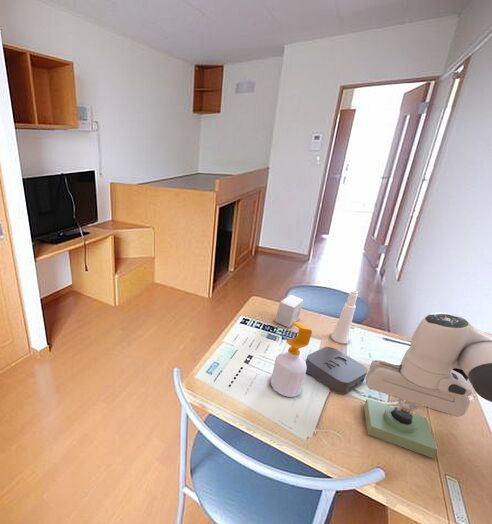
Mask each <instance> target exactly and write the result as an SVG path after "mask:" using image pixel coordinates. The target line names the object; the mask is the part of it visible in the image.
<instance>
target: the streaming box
mask: <svg viewBox="0 0 492 524" xmlns="http://www.w3.org/2000/svg"><path fill="white" fill-rule="evenodd" d="M305 363H306V366H307V369H306V373H307V374H309V375H310V376H311V377H313V379H316V380H317V381H319V382H320V383H322V384H323V385H324V386H325V387H327V388H328V389H330V390H331V391H333V392H334V393H336V394H339V395H346V394H348V393H350V392H352V391H353V390H355V389H357V388H358V387H360V386H361V385H363V384H364V382H365V379H366V376H367V374H368V368H367V367H366V366H365V365H363V364H362V363H360V362H359V361H357V360H355V359H354V358H352V357H350V356H349V355H346V354H345V353H343V352H341V351H340V350H338V349H337V348H334V347H331V346H324V347H322V348H320V349H318V350H316V351H314V352H311V353H309V354H308V355H307V356H306V361H305Z"/></svg>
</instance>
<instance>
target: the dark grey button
mask: <svg viewBox="0 0 492 524" xmlns="http://www.w3.org/2000/svg"><path fill="white" fill-rule="evenodd" d="M394 407H395V408H394V410H393V413H392V416H393V417H394V419H396V420H397V421H399V422H400V423H403V424H410V422H411V420H412V418H413V416H412V414H408V413H405V412H402V411H399V410H398V409H397V406H394Z"/></svg>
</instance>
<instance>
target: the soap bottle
mask: <svg viewBox="0 0 492 524" xmlns="http://www.w3.org/2000/svg"><path fill="white" fill-rule="evenodd" d="M292 323H293V324H292V325H294V326H296V327H297V328H298V331H297V332H298V333H297V335H296V337H293V338H288V339H286V341H285V342H286V344H287V345H289V347H288V349H287V351H285V352H281V353H279V354H278V355H277V356H276V357H275V359H274V360H275V361H274V365H273V369H272V373H271V378H270V385H271V387H272V389H273V390H274V391H275V392H276V393H278V394H280V395H282V396H283V397H288V398H295V397H297V396H299V395H300V393H301V391H302V388H303V385H304V381H305V377H306V373H307V372H306V369H307V366H306V361H305V360H304V359H303V358H302V357H301V356H300V353H301V350H300V349H302V348H305V347H307V346H308V345H309V343H310V341H311V337H312V333H313V331H312V329H311V328H309V327H308V326H306V325H305V324H304V323H302V322H300V321H296V322H292Z"/></svg>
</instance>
